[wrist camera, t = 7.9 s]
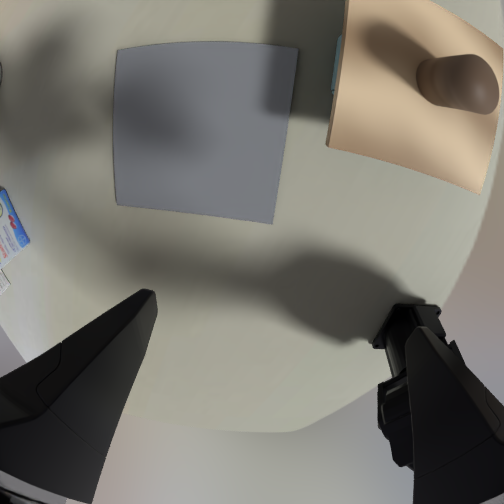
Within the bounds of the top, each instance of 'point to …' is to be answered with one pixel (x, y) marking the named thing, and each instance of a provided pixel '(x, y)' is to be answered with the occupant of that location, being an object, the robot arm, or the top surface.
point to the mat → (202, 127)
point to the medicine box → (10, 231)
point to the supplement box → (3, 282)
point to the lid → (417, 90)
